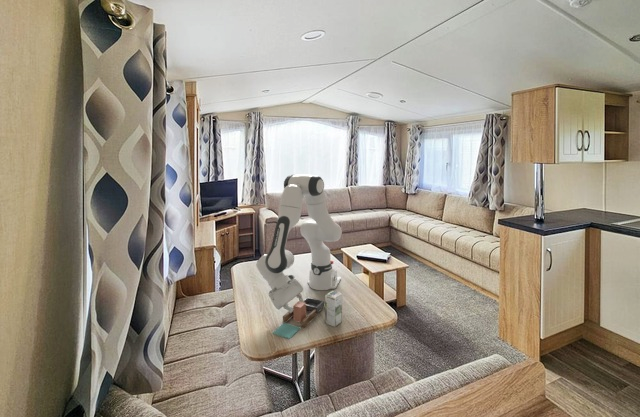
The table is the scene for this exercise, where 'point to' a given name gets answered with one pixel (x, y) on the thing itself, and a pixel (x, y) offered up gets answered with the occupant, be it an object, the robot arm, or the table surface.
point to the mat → (286, 330)
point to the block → (299, 311)
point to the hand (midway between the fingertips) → (297, 307)
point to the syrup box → (333, 308)
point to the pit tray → (313, 304)
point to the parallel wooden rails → (304, 321)
